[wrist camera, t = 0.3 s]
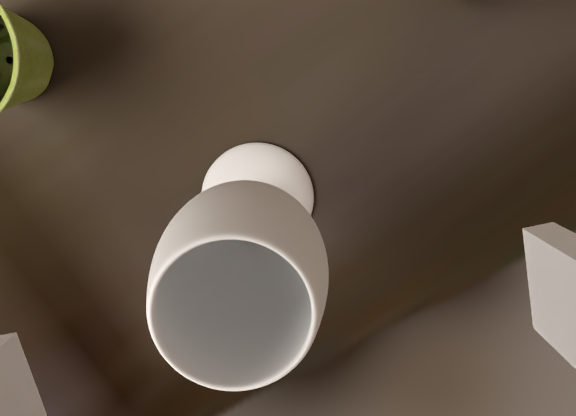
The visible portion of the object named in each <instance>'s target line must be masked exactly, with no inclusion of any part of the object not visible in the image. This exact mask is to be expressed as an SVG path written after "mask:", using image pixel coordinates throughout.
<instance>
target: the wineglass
mask: <svg viewBox="0 0 576 416" xmlns="http://www.w3.org/2000/svg"><path fill="white" fill-rule="evenodd" d="M313 204H314V192H313V186H312V182H311V179H310V177H309V175H308V173H307V171H306V169H305V168H304V166H303V165H302V164H301V162H300V161H299V160H298V159H297V158H296V157H295V156H293V155H292V154H291V153H289V152H288V151H286V150H285V149H283V148H281V147H278V146H275V145H272V144H268V143H258V142H255V143H246V144H242V145H239V146H236V147H234V148H231V149H230V150H228V151H226V152H225V153H223V154H222V155H221V156H220V157H219V158H217V159H216V161H215V162H214V163H213V164H212V165H211V167H210V168H209V170H208V172H207V174H206V176H205V179H204V182H203V186H202V192H201V193H200V194H198V195H197V196H195V197H194V198H193V199H191V200H190V201H189V202H188V203H187V204H186V205H185V206H183V207H182V208H181V209H180V211H179V212H178V213H177V214H176V215H175V216H174V218H173V219H172V220H171V222H170V223H169V225H168V226H167V228H166V229H165V231H164V233H163V235H162V236H161V239H160V241H159V243H158V245H157V248H156V251H155V253H154V256H153V260H152V264H151V268H150V273H149V279H148V286H147V299H146V314H147V322H148V326H149V330H150V334H151V336H152V339H153V341H154V343H155V345H156V347H157V349H158V350H159V352H160V353H161V355H162V356H163V358H164V359H165V360H166V361H167V362H168V363H169V364H170V365H171V366H172V367H173V368H174V369H175V370H176V371H177V372H179V373H180V374H181V375H183V376H184V377H186V378H187V379H189V380H191V381H193V382H195V383H197V384H200V385H202V386H205V387H208V388H212V389H216V390H223V391H245V390H251V389H256V388H260V387H263V386H266V385H268V384H271V383H273V382H275V381H277V380H278V379H280V378H282V377H283V376H285V375H286V374H288V373H289V372H290V371H291V370H293V369H294V368H295V367H296V366H297V365H298V364H299V363H300V361H301V360H302V359H303V358H304V356H305V355H306V353H307V352H308V350H309V349H310V347H311V345H312V343H313V341H314V339H315V336H316V334H317V331H318V328H319V325H320V322H321V319H322V316H323V312H324V308H325V304H326V299H327V292H328V261H327V254H326V250H325V246H324V243H323V239H322V237H321V234H320V232H319V229H318V227H317V225H316V224H315V222H314V220H313V218H312V217H311V213H312V210H313Z"/></svg>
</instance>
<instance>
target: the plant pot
mask: <svg viewBox="0 0 576 416" xmlns="http://www.w3.org/2000/svg"><path fill="white" fill-rule="evenodd" d="M0 24H2V25H4V28H3V29H0V113H1V112H2V111H3V110H4V109H6V108H9V107H12V106H15V105H18V104H20V103H23V102H27V101H30V100H32V99H34V98H36V97H37V96H39V95H40V94H41V93H42V92H43V91H44V90H45V89H46V88H47V86H48V84H49V81H50V78H51V74H52V71H53V67H54V59H53V54H52V50H51V47H50V45H49V43H48V41H47V39H46V38H45V36H44V35H43V34H42V32H41V31H40V30H39V29H38V28H37V27H36V26H34V25H33V24H32V23H30V22H29V21H27V20H25V19H24V18H22V17H20V16H18V15H17V14H15V13H13V12H11V11H10V10H8V9H7V8H5V7H3V5H2V4H1V3H0ZM8 56H10V57H12V59H13V63H12V64H9V63H7V61H6V57H8Z"/></svg>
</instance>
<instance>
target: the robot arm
mask: <svg viewBox="0 0 576 416" xmlns="http://www.w3.org/2000/svg"><path fill="white" fill-rule="evenodd" d="M522 230H523V239H524V248H525V257H526V266H527V274H528V284H529V293H530V302H531V312H532V321H533V328H534V329H535V330H536V331H537V332H538V333H539V334H540V335H541V336H542V337H543V338H544V339H545V340H546V341H547V342H548V343H549V344H550V345H551V346H552V347H553V348H555V349H556V350H557V351H558V352H559V353H560V354H561V355H562V356H563V357H564V358H565V359H566V360H567V361H568V362H569V363H570V364H571V365H572V366H573V367H574V368H575V369H576V234H575V233H573V232H572V231H570V230H568V229H566V228H564V227H562V226H560V225H558V224H556V223H554V222H551V223H546V224H541V225H537V226H532V227H527V228H522ZM0 416H47V414H46V411H45V408H44V406H43V403H42V400H41V398H40V395H39V392H38V390H37V387H36V384H35V381H34V379H33V376H32V373H31V371H30V368H29V365H28V363H27V360H26V357H25V354H24V352H23V349H22V346H21V344H20V341H19V338H18V336H17V333H16V332H15V333H10V334H5V335H0Z"/></svg>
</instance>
